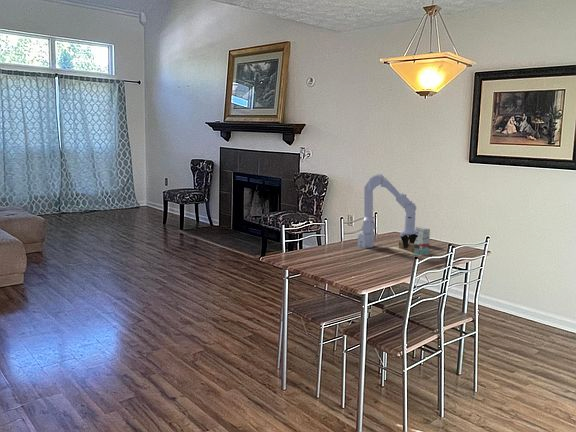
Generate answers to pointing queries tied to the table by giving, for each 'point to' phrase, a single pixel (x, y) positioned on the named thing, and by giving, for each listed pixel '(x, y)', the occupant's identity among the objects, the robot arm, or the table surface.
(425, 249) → the end cap
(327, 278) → the table surface
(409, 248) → the brown rectangular block
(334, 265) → the table surface
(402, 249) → the board
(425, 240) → the ink box
